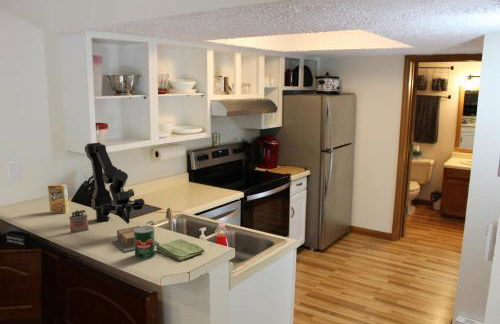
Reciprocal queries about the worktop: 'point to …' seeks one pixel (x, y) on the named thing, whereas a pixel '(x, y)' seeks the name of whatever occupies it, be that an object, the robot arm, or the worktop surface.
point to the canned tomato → (144, 242)
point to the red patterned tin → (78, 222)
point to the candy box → (58, 198)
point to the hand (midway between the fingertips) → (128, 223)
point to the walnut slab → (126, 236)
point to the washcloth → (179, 249)
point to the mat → (124, 248)
